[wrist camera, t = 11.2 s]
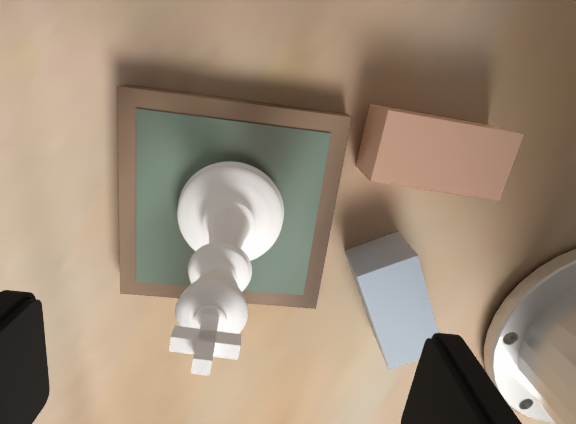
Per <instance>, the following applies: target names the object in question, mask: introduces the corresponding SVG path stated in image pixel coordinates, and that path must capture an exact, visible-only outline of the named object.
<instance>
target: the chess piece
mask: <svg viewBox="0 0 576 424" xmlns="http://www.w3.org/2000/svg"><path fill="white" fill-rule="evenodd" d="M177 219H178V224H179V228H180V231H181V233H182V235H183V237H184V239H185V240H186V242H187V243H188V244H189V246H190V247H191V248H192V249H193V250H195V251H196V252H195V253H194V254H193V255H192V257H191V259H190V261H189V264H188V275H189V279H190V282H191V285H190V286H189V287H187V288H186V289H185V290H184V292H183V293H182V294H181V296H180V297H179V299H178V301H177V304H176V309H175V315H176V320H177V323H178V325H179V326H174V329H173V332H172V335H171V341H170V348H169V351H170V352H179V353H187V354H194V357H193V362H192V368H191V374H200V375H209V376H210V370H211V365H212V359H213V357H220V358H228V359H236V360H238V356H239V351H240V347H241V334H239V333H240V332H241V331H242V329H243V328H244V326H245V324H246V322H247V318H248V306H247V302H246V299H245V297H244V295H243V293H242V291H243V290H244V289H245V288H246V287H247V285H248V284H249V282H250V280H251V276H252V265H251V262H250V261H251V260H254V259H256V258H258V257H260V256H261V255H263V254H264V253H265V252H266V251H268V250H269V249H270V248H271V247H272V245H273V244H274V243H275V241H276V240H277V238H278V236H279V234H280V231H281V228H282V224H283V219H284V205H283V200H282V197H281V194H280V192H279V190H278V188H277V186H276V185H275V184H274V182H273V181H272V180H271V179H270V178H269V177H268V176H267V175H266V174H265V173H263V172H262V171H261V170H259V169H257V168H255V167H253V166H251V165H248V164H245V163H241V162H233V161H226V162H219V163H214V164H211V165H209V166H206V167H204V168H202V169H201V170H199V171H198V172H196V173H195V174H194V175H193V176H192V177H191V178H190V179H189V180H188V181H187V183H186V184H185V186H184V188H183V189H182V192H181V194H180V197H179V202H178V209H177Z"/></svg>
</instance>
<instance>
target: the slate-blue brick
mask: <svg viewBox="0 0 576 424" xmlns="http://www.w3.org/2000/svg"><path fill="white" fill-rule="evenodd" d="M345 253H346V256H347V259H348V262H349V264H350V267H351V270H352V273H353V276H354V279H355V282H356V284H357V287H358V290H359V293H360V296H361V299H362V302H363V304H364V307H365V310H366V313H367V316H368V319H369V322H370V324H371V327H372V330H373V333H374V336H375V338H376V340H377V343H378V345H379V347H380V350H381V352H382V355H383V357H384V359H385V362H386V364H387V366H388V369H389V370H390V369H393V368H396V367H399V366H402V365H405V364H408V363H411V362H414V361H417V360H419V359H420V356H421V353H422V350H423V346H424V343H425V341H426V339H427V338H432V336H433V335H434V334H435V333H439V331H438V328H437V324H436V320H435V317H434V313H433V309H432V306H431V302H430V298H429V295H428V291H427V287H426V284H425V280H424V276H423V273H422V269H421V265H420V262H419V258H418V255H417V254H416V253H415V251H414V250H413V249H412V248H411V247H410V245H409V244H408V243H407V242H406V241H405V239H404V238H403V237H402V236H401V235H400V233H399V232H395V233H392V234H389V235H386V236H384V237H381V238H378V239H375V240H372V241H370V242H367V243H364V244H361V245H358V246H356V247H353V248H350V249H347V250H345Z"/></svg>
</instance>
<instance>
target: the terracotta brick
mask: <svg viewBox="0 0 576 424" xmlns="http://www.w3.org/2000/svg"><path fill="white" fill-rule="evenodd" d="M523 137H524V134H522V133H518V132H514V131H510V130H506V129H502V128H498V127H495V126H491V125H486V124H481V123H475V122H469V121H464V120H458V119H452V118H447V117H441V116H435V115H430V114H424V113H419V112H413V111H407V110H402V109H396V108H390V107H385V106H379V105H374V104H370V107H369V111H368V115H367V119H366V123H365V128H364V132H363V136H362V140H361V144H360V149H359V153H358V157H357V161H356V167H357V168H358V169H359V170H360V171H361V172H362V173H363V174H364V175H365V176H366V177H367V178H368V179H369V180H370V181H371V182H378V183H384V184H391V185H398V186H404V187H411V188H417V189H424V190H430V191H437V192H443V193H450V194H457V195H463V196H470V197H476V198H483V199H489V200H496V201H500V198H501V195H502V193H503V190H504V187H505V185H506V182H507V179H508V177H509V174H510V171H511V169H512V166H513V163H514V161H515V158H516V155H517V153H518V150H519V147H520V145H521V142H522V139H523Z"/></svg>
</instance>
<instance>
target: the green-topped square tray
mask: <svg viewBox="0 0 576 424" xmlns="http://www.w3.org/2000/svg"><path fill="white" fill-rule="evenodd" d="M351 118H352V117H350V116H348V115H347V114H341V113H334V112H326V111H319V110H311V109H304V108H296V107H289V106H281V105H274V104H266V103H259V102H251V101H244V100H236V99H229V98H221V97H214V96H206V95H199V94H192V93H184V92H177V91H169V90H162V89H154V88H147V87H139V86H132V85H121V86H117V126H118V185H119V245H120V294H133V295H146V296H159V297H172V298H179V297H180V296H181V294H182V293H183V292H184V290H185V289H186V288H187V287H189V286H190V285H191V282H190V279H189V275H188V264H189V261H190V259H191V257H192V255H193V254H194V253H195V252H196V251H195V250H193V249H192V248H191V247H190V246H189V244H188V243H187V242H186V240H185V239H184V237H183V235H182V233H181V231H180V228H179V224H178V219H177V209H178V202H179V197H180V194H181V192H182V189H183V188H184V186H185V184H186V183H187V181H188V180H189V179H190V178H191V177H192V176H193V175H194V174H195V173H196V172H198V171H199V170H201V169H202V168H204V167H206V166H209V165H211V164H214V163H219V162H226V161H233V162H241V163H245V164H248V165H251V166H253V167H255V168H257V169H259V170H261V171H262V172H263V173H265V174H266V175H267V176H268V177H269V178H270V179H271V180H272V181H273V182H274V184H275V185H276V186H277V188H278V190H279V192H280V194H281V197H282V200H283V205H284V219H283V224H282V228H281V231H280V234H279V236H278V238H277V240H276V241H275V243H274V244H273V245H272V247H271V248H270V249H269V250H268V251H266V252H265V253H264V254H263V255H261V256H260V257H258V258H256V259H254V260H251V261H250V262H251V265H252V276H251V280H250V282H249V284H248V285H247V287H246V288H245V289H244V290H243V291H242V293H243V295H244V297H245V299H246V302H247V303H250V304H263V305H276V306H289V307H302V308H315V309H316V305H317V299H318V294H319V289H320V283H321V278H322V273H323V267H324V262H325V257H326V251H327V246H328V241H329V235H330V230H331V225H332V219H333V214H334V209H335V203H336V198H337V193H338V188H339V182H340V177H341V172H342V166H343V161H344V156H345V150H346V145H347V140H348V134H349V129H350V124H351Z"/></svg>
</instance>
